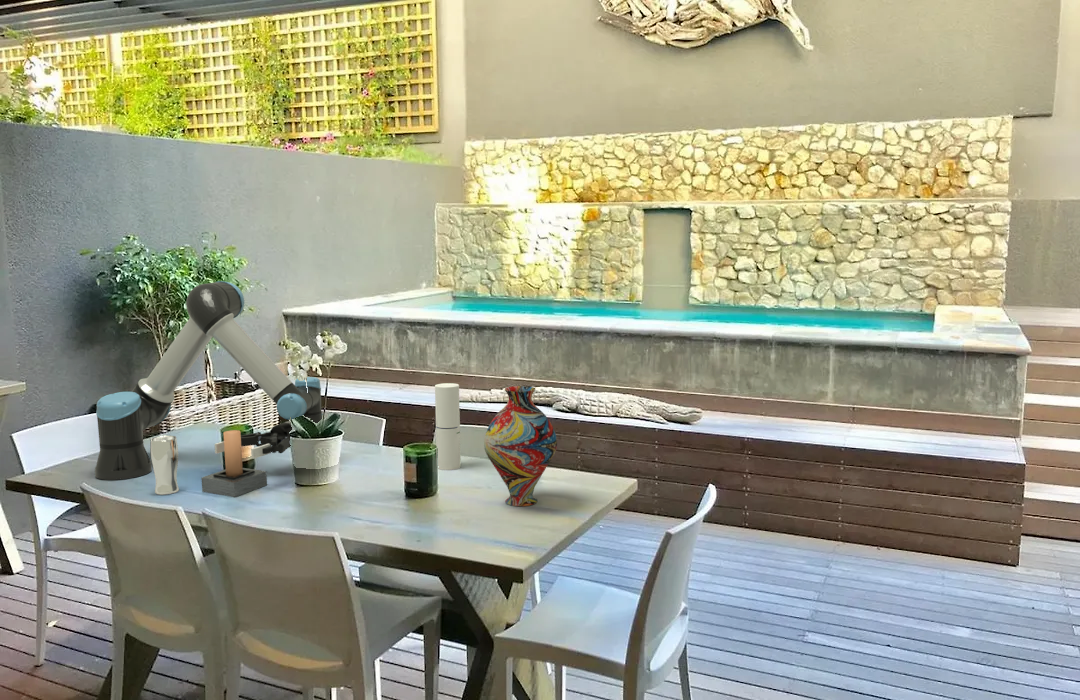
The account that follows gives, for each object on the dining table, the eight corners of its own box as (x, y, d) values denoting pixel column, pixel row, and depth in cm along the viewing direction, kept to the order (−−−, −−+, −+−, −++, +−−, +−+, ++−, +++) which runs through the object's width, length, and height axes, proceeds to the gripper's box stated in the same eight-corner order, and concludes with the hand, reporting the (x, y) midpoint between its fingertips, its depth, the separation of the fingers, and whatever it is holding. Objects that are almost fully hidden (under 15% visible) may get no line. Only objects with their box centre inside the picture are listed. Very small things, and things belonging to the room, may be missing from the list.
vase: (475, 495, 227) (473, 385, 223) (541, 487, 234) (540, 380, 230) (499, 517, 209) (497, 398, 205) (568, 507, 216) (568, 392, 212)
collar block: (202, 491, 232) (201, 475, 232) (235, 480, 243) (234, 464, 242) (235, 497, 227) (234, 480, 227) (267, 485, 238) (266, 469, 237)
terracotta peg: (223, 489, 234) (219, 433, 232) (235, 485, 238) (232, 429, 236) (235, 491, 232) (231, 434, 230) (247, 487, 236) (243, 431, 234)
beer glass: (171, 486, 237) (168, 434, 235) (185, 490, 233) (182, 437, 231) (148, 492, 232) (144, 439, 230) (162, 496, 228) (158, 442, 226)
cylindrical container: (432, 466, 255) (430, 385, 252) (451, 462, 260) (449, 382, 257) (446, 471, 250) (444, 388, 247) (465, 466, 255) (463, 385, 252)
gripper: (321, 451, 247) (269, 469, 229) (256, 442, 258) (201, 459, 239) (320, 426, 246) (267, 442, 228) (255, 418, 257) (200, 433, 238)
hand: (233, 451), depth 233 cm, fingers open, 13 cm apart
